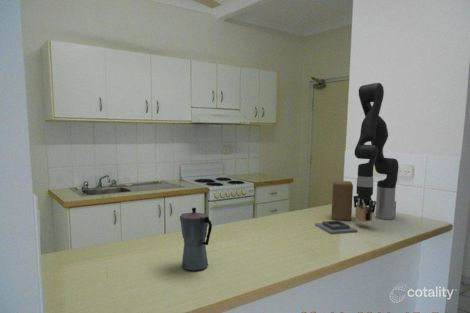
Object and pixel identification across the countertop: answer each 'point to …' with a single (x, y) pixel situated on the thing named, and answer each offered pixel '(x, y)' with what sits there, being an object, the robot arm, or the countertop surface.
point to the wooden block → (342, 200)
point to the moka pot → (195, 239)
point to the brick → (361, 214)
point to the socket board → (335, 227)
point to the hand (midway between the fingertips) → (363, 218)
